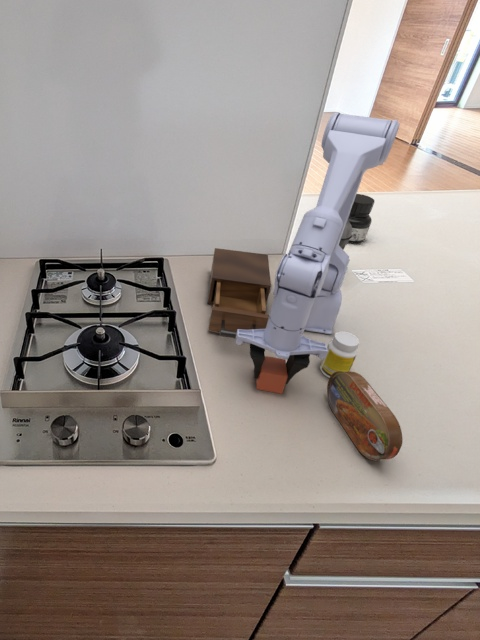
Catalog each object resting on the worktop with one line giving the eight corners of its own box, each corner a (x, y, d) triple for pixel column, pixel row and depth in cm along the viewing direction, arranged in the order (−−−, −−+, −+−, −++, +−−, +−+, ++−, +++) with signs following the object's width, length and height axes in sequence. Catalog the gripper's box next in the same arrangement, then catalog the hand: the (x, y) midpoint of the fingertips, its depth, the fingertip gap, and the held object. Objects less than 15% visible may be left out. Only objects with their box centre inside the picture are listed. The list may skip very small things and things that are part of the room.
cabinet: (264, 312, 97) (271, 285, 93) (207, 304, 100) (212, 277, 96) (261, 279, 108) (267, 254, 104) (210, 273, 111) (214, 247, 107)
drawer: (265, 355, 85) (271, 333, 82) (206, 345, 88) (210, 323, 84) (261, 304, 99) (266, 283, 95) (211, 296, 101) (214, 276, 98)
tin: (320, 394, 78) (334, 360, 73) (337, 393, 78) (352, 359, 73) (372, 472, 65) (393, 437, 61) (392, 470, 66) (414, 435, 61)
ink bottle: (326, 239, 125) (339, 200, 119) (331, 226, 131) (343, 189, 125) (364, 247, 121) (379, 208, 114) (367, 234, 127) (381, 196, 120)
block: (280, 376, 82) (285, 359, 79) (282, 394, 78) (287, 377, 76) (255, 371, 83) (260, 355, 80) (256, 389, 79) (261, 372, 77)
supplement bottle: (350, 383, 80) (365, 349, 75) (322, 379, 81) (336, 345, 76) (343, 364, 84) (357, 331, 79) (317, 361, 85) (329, 328, 80)
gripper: (242, 327, 70) (228, 385, 78) (339, 343, 67) (315, 402, 75) (241, 302, 76) (229, 358, 84) (331, 315, 73) (310, 372, 80)
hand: (269, 377), depth 80 cm, fingers closed on block, 4 cm apart
